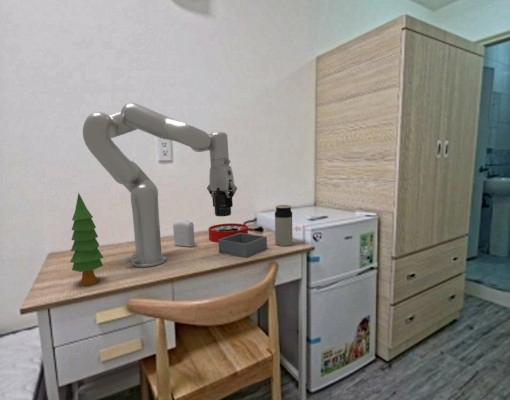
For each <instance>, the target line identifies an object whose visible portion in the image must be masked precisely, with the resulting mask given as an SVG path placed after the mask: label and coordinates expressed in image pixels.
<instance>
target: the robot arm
mask: <svg viewBox="0 0 510 400" xmlns="http://www.w3.org/2000/svg"><path fill="white" fill-rule="evenodd" d="M137 130H140V131H142V132H144V133H147V134H149V135H152V136H155V137H157V138H159V139H163V140H169V141H174V142H177V143H179V144H181V145H184V146H187V147H190V149H191V150H192V151H194V152H196V153H202V152H208V151H209V160H210V161H209V162H210V167H209V183H208V186H207V187H206V190H207V191H208V192H209V195H210V197H211V199H212V207H213V208H214V195H215V193H217V191H216V190H217V187H218V188H219V189H220V190H221V191H225V194H226V196H227V198H226V207H227V208H229V207H231V208H232V207H233V205H234V204H233V197H234V196H235V194H236V192H237V190H238V187H237V186H236V185H235V180H234V173H233V168H232V166H231V165H230V164H231V160H230V159H229V158H230V156H229V140H228V134H227V133H226V132H223V131H220V132H219V131H216V132H211V133H207V132H206V131H204V130H202V129H200V128H198V127H196V126H193V125H190V124H188V123H185V122H183V121H180V120H177V119H174V118H172V117H169V116H167V115H164V114H162V113H159V112H157V111H154V110H153V109H150V108H147V107H145V106H143V105H140V104H138V103H135V102H128V103H126V104H124V106H122V108H121V111H118V112H115V113H112V114H109V115H108V113H104V112H101V111H95V112H92V113H91V114H89V115H88V116H87V117H86V119H85V120H84V123H83V127H82V138H83V141H84V144H85V145H86V147H87V149H88V151H89V152H90V153H91V155H93V156H94V158H95V159H96V160H97V161H98V162H99V164H101V166H102V167H103V168H104V169H105V170H106V172H108V174H109V175H110V176H111V177H112V179H113V180H114V181H115V182H116V183H118V184H120V185H122V186H124V187H125V188H126V190H127V191H128V192H129V193H130V205H131V211H132V222H133V233H134V248H135V252H132V254H133V255H131V256H130V257H126V258H124V259H123V262H124V264H128V263H132V266H134V267H136V268H149V267H154V266H159V265H161V264H163V263H165V262H166V260H167V257H166V256H165V255H163V253H162V243H161V241H162V238H161V225H160V211H159V208H160V207H159V189H158V187H157V186H156V184H155V183H154V182H153V181H152V180H151V179H150V178H149V175H147V174H146V173H145V171H143V170H142V168H141V167H140V166H139V165H138V164H137V163H136V162H134V161H133V160H131V159H129V158H128V157H127V155H125V154H124V152H123V151H122V150H121V148H119V146H118V145H117V144H116V143H115V142H114V141H113V140H112V139H114V138H116V137H117V138H118V137H120V136H122V135H126V134H128V133H132V132H135V131H137Z"/></svg>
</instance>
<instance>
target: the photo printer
mask: <svg viewBox="0 0 510 400" xmlns="http://www.w3.org/2000/svg"><path fill="white" fill-rule="evenodd" d="M194 225H195V224H194V223H193V222H192V221H191V220H188V219H178V220H176V221H173V225H172V227H173V241H174V245H175V246H179V247H190V248H192V247H194V246H195V228H194Z"/></svg>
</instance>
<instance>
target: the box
mask: <svg viewBox="0 0 510 400" xmlns="http://www.w3.org/2000/svg"><path fill="white" fill-rule="evenodd" d="M267 242H268V237H267V236H264V235H258V234H252V233H251V234H250V233H248V234H245V233H238V234H235V235H232V236H229V237H225V238H222V239H219V240H218V253H222V254H226V255H231V256H236V257H240V258H246V259H248V258H249V257H251V256H254V255H256V254H258V253H261V252H263V251H265V250H267V249H268V243H267Z"/></svg>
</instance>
